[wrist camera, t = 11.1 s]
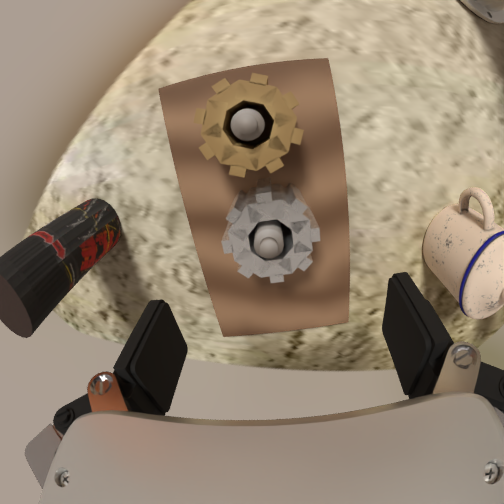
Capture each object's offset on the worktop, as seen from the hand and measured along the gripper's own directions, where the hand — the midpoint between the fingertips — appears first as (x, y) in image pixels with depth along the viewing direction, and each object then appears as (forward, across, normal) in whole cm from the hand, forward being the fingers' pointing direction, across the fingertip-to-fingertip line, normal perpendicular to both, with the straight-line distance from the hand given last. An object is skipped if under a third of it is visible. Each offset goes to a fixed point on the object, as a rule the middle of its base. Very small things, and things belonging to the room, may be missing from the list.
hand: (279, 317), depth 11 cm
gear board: (+15, +1, +1) cm, 15 cm away
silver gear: (+14, +1, +1) cm, 14 cm away
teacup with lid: (+16, -19, +5) cm, 25 cm away
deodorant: (+15, +19, -1) cm, 24 cm away
